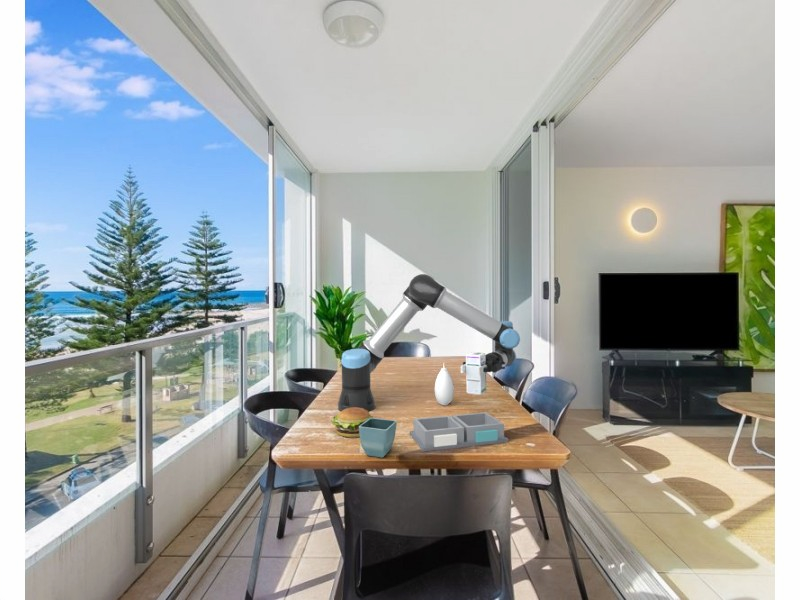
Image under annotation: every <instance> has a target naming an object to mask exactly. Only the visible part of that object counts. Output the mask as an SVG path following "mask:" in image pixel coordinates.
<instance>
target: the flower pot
mask: <svg viewBox="0 0 800 600" xmlns="http://www.w3.org/2000/svg"><path fill="white" fill-rule="evenodd" d="M397 422H398V421H397V420H395V419H394V420H392V419H386V418H376V417H373V418H370V419H368V420H367V421H366V422H364V423H363V424H361V425H360V426H359V433H360V437H359V438H360V444H361V447H362V449H363V451H364V453H365V454H366V456H368V457H369V456H370V457H375V458H384V457H385V456H386V455H387V454H388V453H389V452H390V450H391V449H392V446H393V444H394V442H395V439H396V430H397Z"/></svg>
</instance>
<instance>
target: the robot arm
mask: <svg viewBox="0 0 800 600" xmlns="http://www.w3.org/2000/svg"><path fill="white" fill-rule="evenodd" d="M427 306H429V307H431V308H432V309H436V308H437V309H438V310H441V311H442V312H444V313H445V314H448V315H450V316H451V317H453V318H454V319H456V320H458V321H460V322H461V323H463V324H465V325H467V326H468V327H470V328H472V329H473V330H475V331H477V332H479V333H480V334H482V335H483V336H486V337H487V338H489V339H491V340H493V341H494V351H492V352H489V353H487V354H486V353H485V354H486V365H483V366H481V367H478V368H477V372H478V375H482V374H484V373H486V374H487V373H491V372H492V373H494V374H495V373H497V372H499V371H501V370H505V369H506V368H507V367H510V366H511V365H513V364H514V363H515V362H516V360H517V354H516V352H515V350H514V349H515V348H516V347H518V346H519V344H520V341H521V337H520V334H519V333H518V331H517V330H516V329H514V327H513V326H514V325H513V322H512V321H509V320H497V319H496V318H494V317H493V316H491V315H490V314H488V313H486V312H483V311H482V310H480V309H478V308H477V307H475V306H473V305H472V304H469V303H468V302H466V301H464V300H462V299H461V298H459V297H457V296H456V295H454V294H452V293H451V292H449V291H447V288H446V286H443V285H442V284H440V283H439V282H438V281H436V279H434V278H433V277H432V276H431V275H429V274H424V273H421V274H417V275H415V276H414V277H413V278H412V279H411V280H410V282H409V285H408V286H407V287H406V288H405V290H404V291H403V292H402V299H401V300H400V301H399V303H398V304H397V305H396V306H395V308H394V309H393V310H392V311H391V312H390V314H388V316H387V318H385V319H384V321H383V323H381V325H379V327H378V328H377V329H376V331H375V332H374V333H373V334H372V335H371V337H370V338H369V339H366V340H363V341H362V342H361V343H360V345H359V346H358V347H357V348H351V349H347V350H345V351H344V352H343V353H342V354H341V360H340V362H341V391H340V395H339V399H338V402H337V409H338V411H340V412H341V411H342V410H344V409H347V408H352V407H358V408H363V409H365V410H367V411H368V412H370V411H372V410H374V409H375V408H376V401H375V398H374V395H373V392H372V388H371V373H372V372H374V371H375V369H376V368H377V367H378V365H379V364H380V363H381V362H382V360H383V359H384V357H385V355H384V354H385V351H387V349H388V348H389V347H390V345H391V344H392V343H393V342H394V341H395V339H396V338H397V337H398V336H399V335H400V333H401V332H402V331H403V330H404V328H405V327H406V326H407V325H408V324H409V323H410V322H411V320H412V319H413V318H414V317H415V315H416V314H417V313H418V312H422V311H424V310H425V309H426V308H427ZM460 374H466V361H463V362H462V364H461V365H460Z"/></svg>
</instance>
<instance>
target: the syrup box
mask: <svg viewBox="0 0 800 600" xmlns="http://www.w3.org/2000/svg"><path fill="white" fill-rule="evenodd" d="M465 362H466V372H465V377H466V378H465V379H466V380H465V381H466V383H465V384H466V394H471V395H477V396H481V395H483V394H484V393H486V392H487V373H484V374H482V375H478V372H477V368H478V367H481V366H483V365H486V353H484V352H471V353H467V354H465Z"/></svg>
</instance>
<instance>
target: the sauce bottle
mask: <svg viewBox="0 0 800 600" xmlns="http://www.w3.org/2000/svg"><path fill="white" fill-rule="evenodd" d="M454 388H455V387H454V381H453V378H452V376H451V374H450V372H449V371H448V368H446V367H445V364H443V367H442V368H440V371H439V373H438V374H437V376H436V379H435V383H434V397H435V399H436V401H437V403H439V404H440V406H443V407H446V406H447V405H449V403H452V400H453V398H454V395H455V393H454V392H455V389H454Z"/></svg>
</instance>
